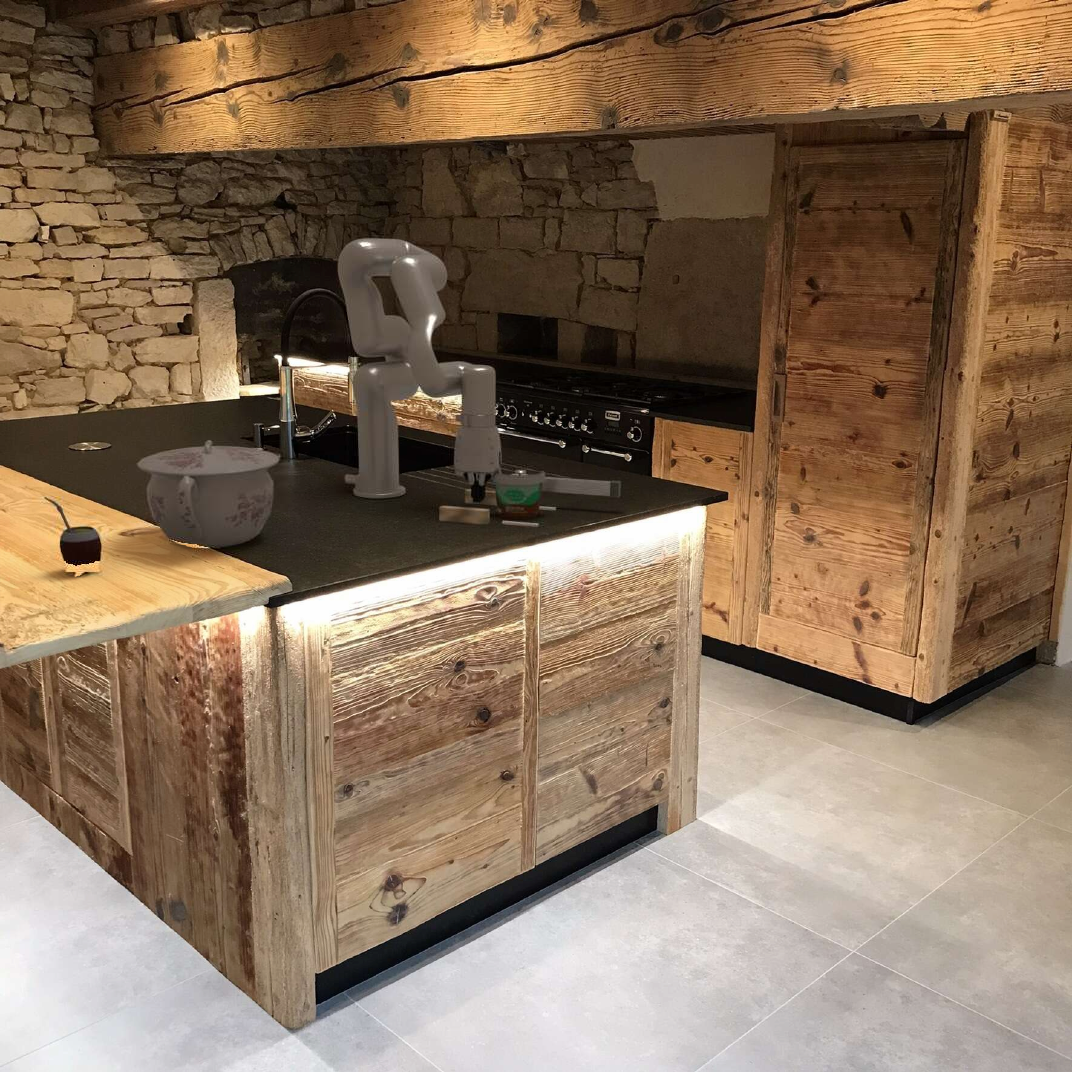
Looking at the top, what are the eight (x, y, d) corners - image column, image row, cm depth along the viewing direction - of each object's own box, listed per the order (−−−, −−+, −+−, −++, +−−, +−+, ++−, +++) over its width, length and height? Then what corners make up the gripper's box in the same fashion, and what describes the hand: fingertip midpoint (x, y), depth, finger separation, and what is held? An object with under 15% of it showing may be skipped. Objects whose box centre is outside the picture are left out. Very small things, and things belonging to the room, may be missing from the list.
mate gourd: (109, 566, 204) (102, 488, 200) (94, 579, 196) (86, 497, 192) (68, 566, 203) (60, 487, 199) (51, 578, 196) (43, 497, 192)
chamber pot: (230, 517, 241) (225, 424, 236) (311, 539, 224) (307, 439, 219) (113, 542, 220) (104, 440, 215) (192, 568, 203) (185, 459, 198)
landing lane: (502, 524, 239) (502, 521, 239) (522, 507, 255) (522, 504, 255) (537, 526, 237) (537, 524, 237) (555, 509, 253) (556, 507, 253)
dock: (439, 520, 241) (439, 507, 240) (467, 501, 260) (467, 488, 259) (486, 524, 238) (486, 511, 238) (512, 504, 257) (512, 492, 256)
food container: (491, 520, 242) (491, 476, 240) (491, 513, 248) (491, 470, 246) (547, 520, 243) (547, 476, 240) (545, 513, 249) (545, 470, 246)
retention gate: (617, 512, 250) (619, 478, 248) (514, 504, 256) (514, 471, 254) (619, 510, 252) (620, 476, 250) (516, 502, 258) (517, 469, 256)
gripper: (441, 421, 242) (441, 502, 247) (505, 425, 238) (504, 507, 243) (452, 417, 249) (452, 495, 254) (515, 420, 245) (514, 500, 250)
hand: (478, 501), depth 248 cm, fingers closed
